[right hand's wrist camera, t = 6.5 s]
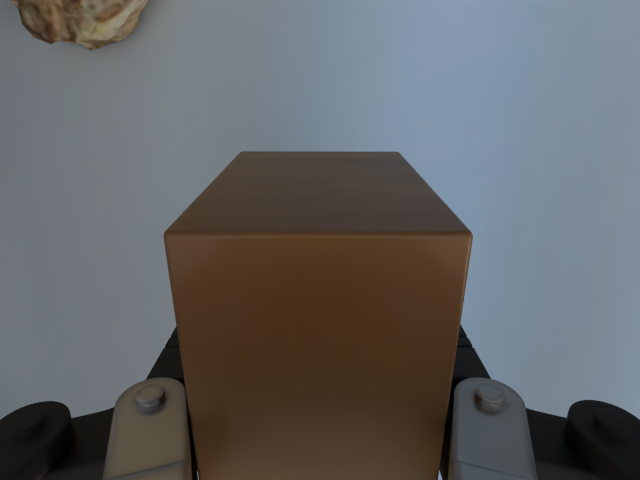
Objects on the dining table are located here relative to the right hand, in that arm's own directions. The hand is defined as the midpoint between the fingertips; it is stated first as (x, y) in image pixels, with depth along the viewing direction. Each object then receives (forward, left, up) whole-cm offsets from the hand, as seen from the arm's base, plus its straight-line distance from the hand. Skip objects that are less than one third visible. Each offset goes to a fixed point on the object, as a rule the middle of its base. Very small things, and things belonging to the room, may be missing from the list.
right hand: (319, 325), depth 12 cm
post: (+17, -29, -2) cm, 34 cm away
